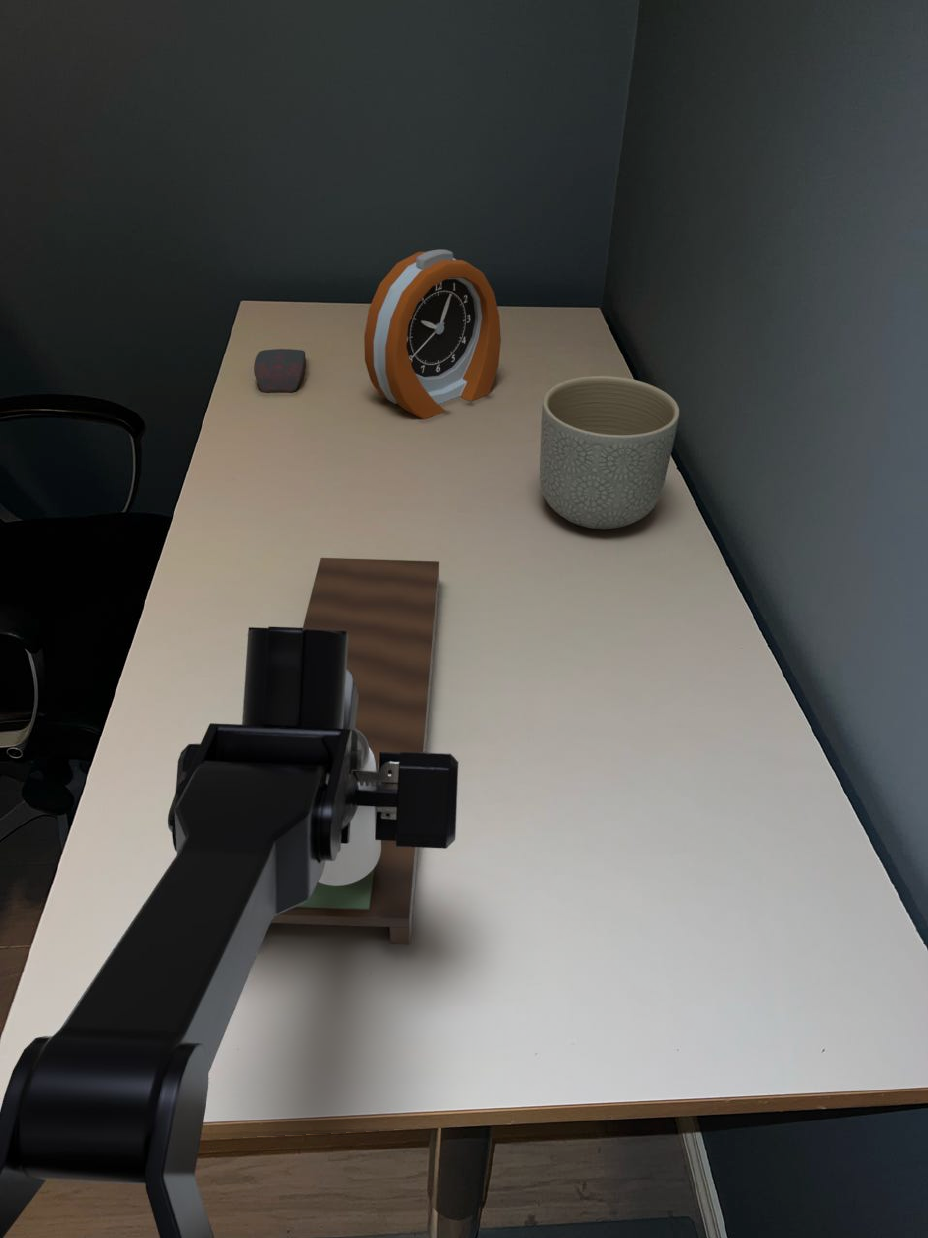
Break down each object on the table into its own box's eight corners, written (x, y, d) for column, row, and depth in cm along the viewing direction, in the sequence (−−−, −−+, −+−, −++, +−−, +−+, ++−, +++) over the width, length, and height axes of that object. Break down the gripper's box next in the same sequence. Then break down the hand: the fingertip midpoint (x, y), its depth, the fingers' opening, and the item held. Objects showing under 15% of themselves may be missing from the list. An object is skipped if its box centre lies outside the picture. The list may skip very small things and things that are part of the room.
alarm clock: (404, 427, 142) (400, 278, 127) (365, 404, 147) (357, 259, 133) (508, 386, 153) (515, 246, 139) (468, 367, 159) (471, 230, 145)
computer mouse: (253, 392, 150) (250, 369, 147) (263, 357, 160) (260, 335, 158) (303, 392, 150) (301, 369, 148) (310, 357, 161) (308, 335, 158)
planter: (591, 464, 134) (604, 364, 124) (686, 512, 124) (707, 407, 115) (508, 505, 125) (514, 400, 115) (603, 560, 115) (618, 451, 106)
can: (390, 876, 72) (385, 772, 65) (308, 899, 70) (293, 794, 63) (369, 814, 77) (362, 710, 69) (292, 834, 75) (276, 729, 68)
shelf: (410, 944, 74) (409, 918, 71) (235, 938, 74) (229, 911, 72) (439, 584, 111) (439, 559, 108) (322, 581, 111) (320, 556, 109)
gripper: (459, 675, 56) (463, 685, 71) (152, 663, 56) (223, 676, 72) (452, 863, 54) (457, 832, 70) (138, 850, 55) (213, 822, 70)
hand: (337, 786), depth 70 cm, fingers closed on can, 6 cm apart
